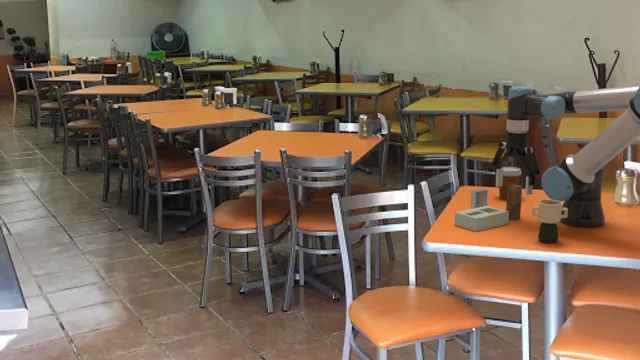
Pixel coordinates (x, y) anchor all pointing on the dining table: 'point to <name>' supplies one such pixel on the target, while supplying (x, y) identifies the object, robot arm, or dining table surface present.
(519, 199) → the walnut peg
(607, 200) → the dining table surface
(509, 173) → the disposable coffee cup
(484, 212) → the socket block
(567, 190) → the robot arm
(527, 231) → the dining table surface
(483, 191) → the grey upright tile
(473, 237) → the dining table surface
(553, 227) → the character mug
